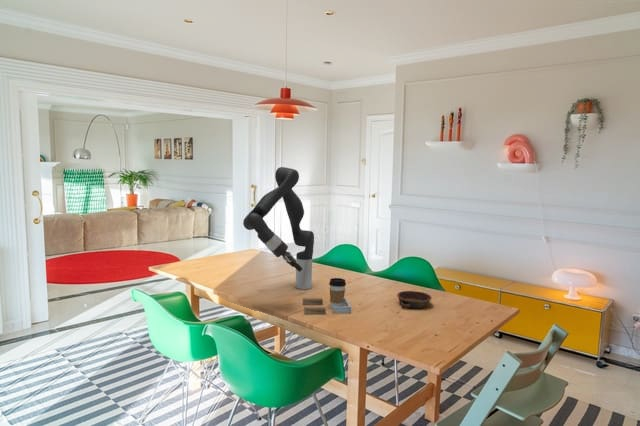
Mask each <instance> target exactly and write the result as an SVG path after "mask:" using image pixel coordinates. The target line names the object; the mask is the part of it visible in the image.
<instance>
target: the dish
mask: <svg viewBox="0 0 640 426" xmlns="http://www.w3.org/2000/svg"><path fill="white" fill-rule="evenodd" d="M396 296H397V298H398V301H399V303H400V306H401V308H404V309H406V308H411V309H423V308H427V307H428V306H429V304H430V301H431V300H432V295H430V294H428V293H426V292H423V291H413V290H405V291H400V292H398V293H397V294H396Z"/></svg>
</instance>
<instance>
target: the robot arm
mask: <svg viewBox="0 0 640 426" xmlns="http://www.w3.org/2000/svg"><path fill="white" fill-rule="evenodd" d="M299 174H300V173H299V172H298V170H297V169H293V168H290V167H283V166H280V167H278V168H277V169H276V170H275V173H274V176H275V181H276V185H277V187H276V188H274V189H273V190H271V191H269V192H267V193H266V194H264V195H263V196H262V197H261V199H260V200H258V202H257V204H255V206H254V208H253V209H251V211H249V212H248V214H247V215H246V216H245V218H244V219H243V221H242V222H243V223H242V224H243V227H244V228H245V229H246V230H248V231H253V230H254V231H255V232H256V233H257V238H258V239H259V241H261V242H262V243H263V244H264V245H265V247H266V248H267V249H268V250H269V251H270V252H271V253H272V254H273V255H274V256H275V257H276V258H280V257H281V256H282V259H283V260H284V261H285V262H286V263H287V264H288V265H289V266H291V267H292V268H294V269H295V288H296V289H298V290H310V289H312V288H313V287H312V281H313V256H314V245H315V234H314V232H313V231H312V230H306V229H305V230H304V229H301V226H300V224H301V222H302V220H303V218H304V216H305V210H304V205H303V202H302V200H301V199H300V197H299V196H298V194H297V193H295V191H294V190H293V188H294V187H295V186H296V185H297V184H298V182H299V180H300V175H299ZM281 199H282V200H283V202H284V207H285V210H286V213H287V216H288V219H289V224H290V227H291V233H292V239H293V242H294V245H295V246H299V247H304V250H301V251H299V252H296V254H295V256H296V258H295V257H294V256H293V255H292V254H291V252H290V251H287V250H288V249H289V246H288V244H287V243H286V242H285V241H283V239H282V238H281V237H280V236H278V235H277V234H276V233H275V232H274V231H273V230H272V229H271V228H269V226H268V225H267V223H266V221H265V220H264V218H265V217H266V216H267V215H268V214H269V213H270V211H271V210H272V209H273V207H275V205H276V204H277V203H278V202H279V201H280V200H281Z"/></svg>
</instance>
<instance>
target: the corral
mask: <svg viewBox="0 0 640 426" xmlns="http://www.w3.org/2000/svg"><path fill="white" fill-rule="evenodd" d="M329 304H330V305H331V301H330V300H329ZM351 313H352V306H351V304H350V302H349V299H348V298H347V297H344V301H343V307H333V310H332V314H351Z"/></svg>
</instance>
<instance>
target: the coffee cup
mask: <svg viewBox="0 0 640 426" xmlns="http://www.w3.org/2000/svg"><path fill="white" fill-rule="evenodd" d="M328 285H329V302H330V301H331V304H330V310H332V311H333V307H344V304H343V301H344V298H345V293H346V286H347V283H346V279H344V278H341V277H333V278H330V279H329V283H328Z"/></svg>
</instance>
